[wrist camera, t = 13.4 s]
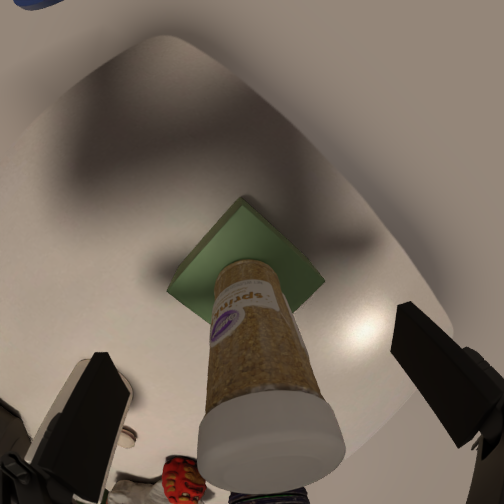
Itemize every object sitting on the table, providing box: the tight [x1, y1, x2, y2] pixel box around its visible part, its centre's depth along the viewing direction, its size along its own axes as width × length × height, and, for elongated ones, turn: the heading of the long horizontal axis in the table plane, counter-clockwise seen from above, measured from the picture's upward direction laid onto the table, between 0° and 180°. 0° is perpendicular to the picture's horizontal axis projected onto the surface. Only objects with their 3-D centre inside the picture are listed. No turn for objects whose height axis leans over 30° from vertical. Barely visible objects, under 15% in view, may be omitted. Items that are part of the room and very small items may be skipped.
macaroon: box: [117, 429, 136, 448], centre depth 29 cm, size 4×5×2 cm
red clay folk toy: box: [162, 457, 207, 504], centre depth 26 cm, size 8×7×15 cm
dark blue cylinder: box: [228, 487, 310, 504], centre depth 25 cm, size 10×10×15 cm
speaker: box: [0, 405, 31, 504], centre depth 20 cm, size 25×9×25 cm, turn 154°
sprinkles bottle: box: [197, 259, 346, 494], centre depth 12 cm, size 5×5×13 cm
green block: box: [167, 197, 325, 324], centre depth 21 cm, size 8×8×5 cm
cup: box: [24, 359, 133, 504], centre depth 19 cm, size 8×8×16 cm
